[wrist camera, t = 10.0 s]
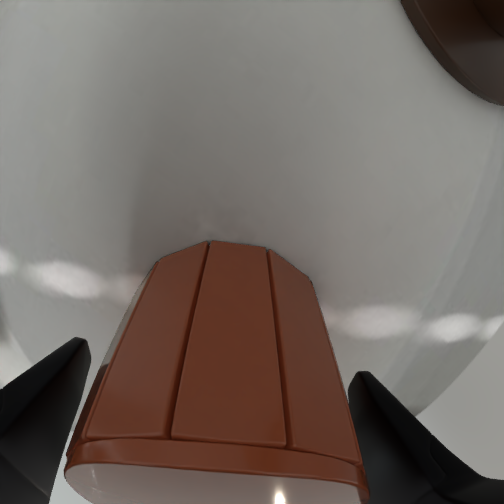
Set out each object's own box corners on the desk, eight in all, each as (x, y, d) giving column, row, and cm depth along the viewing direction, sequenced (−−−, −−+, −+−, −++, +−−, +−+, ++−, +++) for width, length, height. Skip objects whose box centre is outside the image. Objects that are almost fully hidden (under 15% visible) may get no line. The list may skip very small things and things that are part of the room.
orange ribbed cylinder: (343, 256, 10) (436, 453, 4) (295, 390, 13) (313, 537, 7) (131, 229, 9) (9, 415, 3) (142, 372, 12) (104, 518, 6)
